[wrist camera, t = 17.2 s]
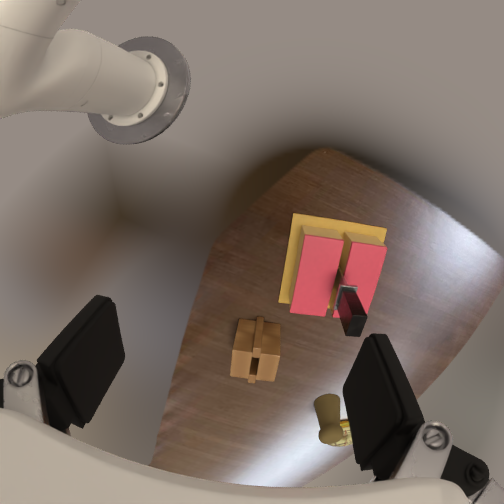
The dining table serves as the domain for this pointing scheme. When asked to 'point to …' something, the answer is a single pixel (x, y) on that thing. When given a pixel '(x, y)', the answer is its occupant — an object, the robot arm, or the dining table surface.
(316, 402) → the olive brown pawn
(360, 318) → the knife
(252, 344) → the knife block
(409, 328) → the dining table surface
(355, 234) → the cake
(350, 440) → the decorated donut
